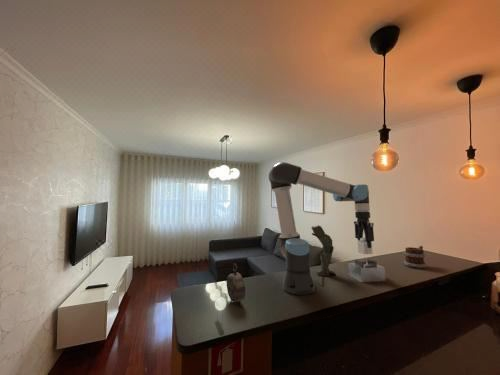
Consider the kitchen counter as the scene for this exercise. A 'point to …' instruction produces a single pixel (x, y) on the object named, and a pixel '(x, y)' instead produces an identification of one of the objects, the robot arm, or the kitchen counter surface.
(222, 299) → the kitchen counter surface
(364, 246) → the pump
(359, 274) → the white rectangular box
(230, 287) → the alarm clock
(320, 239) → the mechanical leg
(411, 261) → the chocolate layer cake
